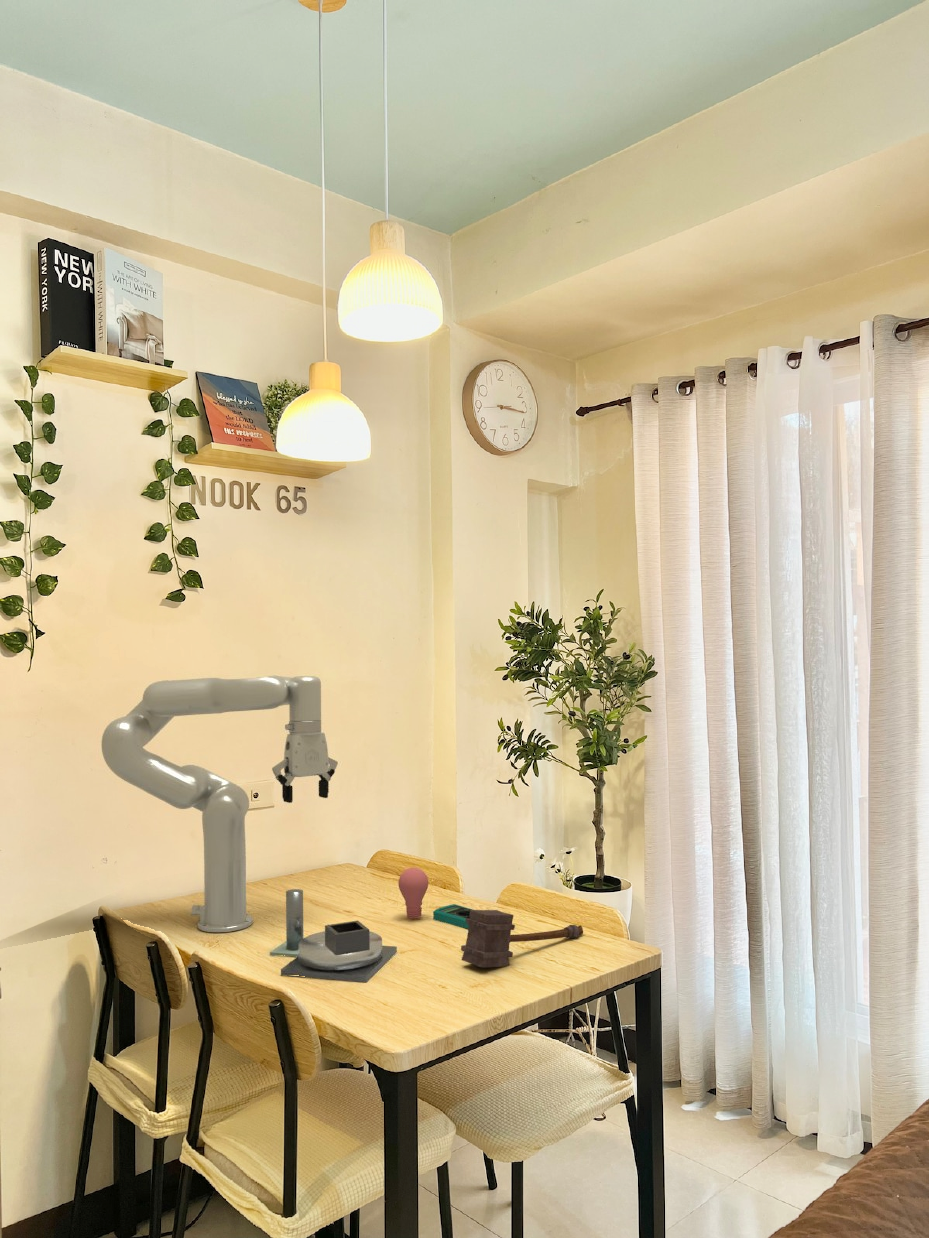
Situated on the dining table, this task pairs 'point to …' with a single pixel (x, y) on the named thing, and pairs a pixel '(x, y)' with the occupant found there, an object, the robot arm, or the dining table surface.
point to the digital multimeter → (453, 915)
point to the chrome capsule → (294, 918)
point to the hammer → (500, 937)
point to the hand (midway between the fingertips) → (305, 799)
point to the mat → (284, 951)
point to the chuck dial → (340, 947)
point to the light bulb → (413, 890)
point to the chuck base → (346, 975)
